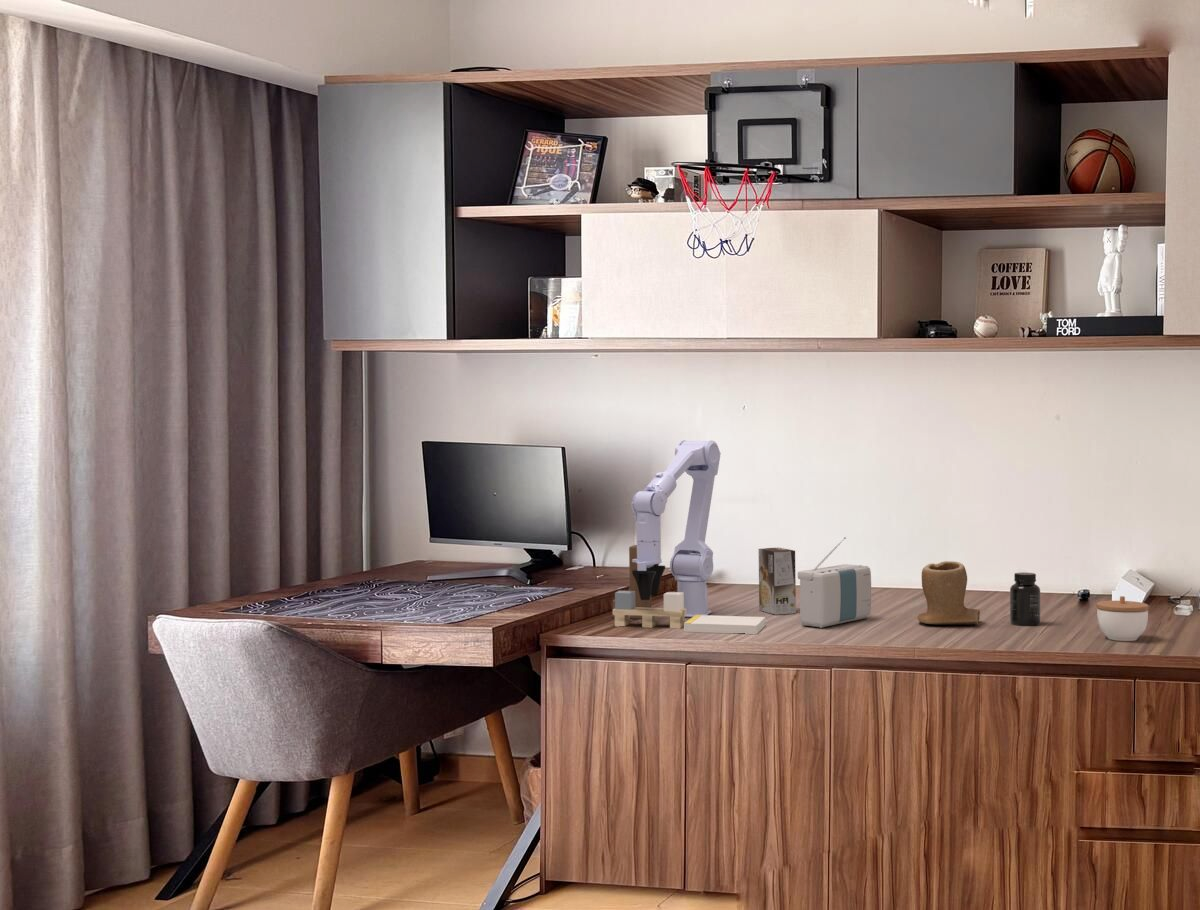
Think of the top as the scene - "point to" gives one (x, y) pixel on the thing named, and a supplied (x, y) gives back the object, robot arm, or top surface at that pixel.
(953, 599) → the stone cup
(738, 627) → the dock
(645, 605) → the wooden block
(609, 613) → the top surface
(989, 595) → the top surface
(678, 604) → the greyish beige cube
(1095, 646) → the top surface
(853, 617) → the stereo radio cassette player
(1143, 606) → the lidded jar
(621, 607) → the pale grey square box
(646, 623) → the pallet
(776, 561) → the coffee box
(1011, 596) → the supplement bottle
